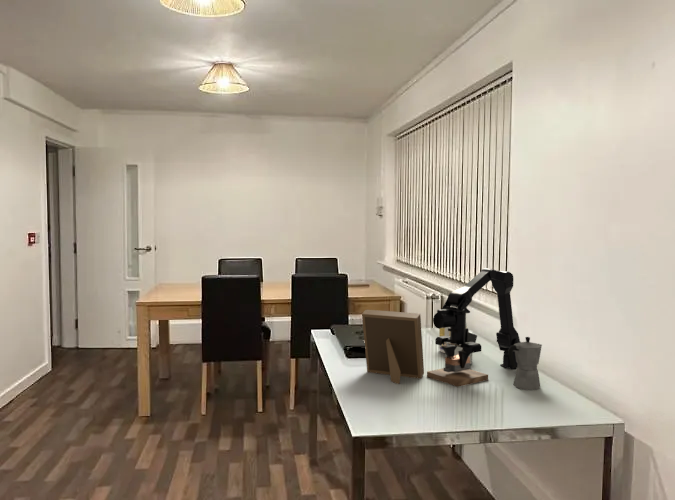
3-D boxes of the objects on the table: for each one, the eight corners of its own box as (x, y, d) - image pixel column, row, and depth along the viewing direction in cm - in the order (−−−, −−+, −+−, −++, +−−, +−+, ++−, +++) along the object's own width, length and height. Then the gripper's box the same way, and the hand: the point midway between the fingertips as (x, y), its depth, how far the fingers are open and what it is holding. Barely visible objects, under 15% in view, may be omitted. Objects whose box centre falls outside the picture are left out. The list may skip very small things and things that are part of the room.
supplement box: (472, 364, 241) (472, 333, 240) (454, 363, 242) (454, 333, 242) (472, 359, 248) (472, 330, 248) (454, 358, 250) (454, 329, 249)
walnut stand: (456, 370, 231) (456, 365, 231) (488, 379, 217) (488, 374, 217) (426, 376, 222) (427, 371, 222) (457, 386, 208) (457, 381, 208)
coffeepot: (530, 380, 216) (532, 333, 215) (550, 387, 208) (551, 337, 207) (498, 386, 210) (499, 336, 209) (517, 393, 201) (518, 341, 200)
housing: (469, 369, 220) (470, 357, 219) (450, 373, 214) (450, 360, 214) (460, 366, 224) (460, 354, 223) (441, 370, 218) (441, 357, 218)
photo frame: (371, 369, 232) (371, 307, 230) (424, 375, 223) (424, 311, 221) (356, 379, 219) (356, 313, 217) (412, 386, 210) (412, 317, 208)
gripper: (492, 327, 215) (491, 368, 216) (455, 319, 231) (454, 358, 232) (470, 330, 209) (470, 373, 210) (434, 322, 224) (434, 362, 225)
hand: (457, 366), depth 219 cm, fingers closed on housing, 5 cm apart
